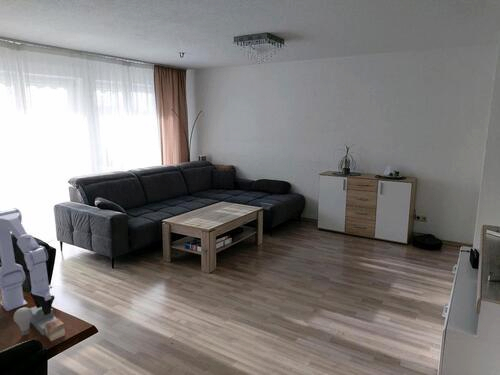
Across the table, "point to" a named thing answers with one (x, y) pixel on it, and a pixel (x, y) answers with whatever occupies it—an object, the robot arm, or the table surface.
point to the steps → (41, 319)
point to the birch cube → (54, 329)
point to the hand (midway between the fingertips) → (43, 310)
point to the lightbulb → (23, 319)
